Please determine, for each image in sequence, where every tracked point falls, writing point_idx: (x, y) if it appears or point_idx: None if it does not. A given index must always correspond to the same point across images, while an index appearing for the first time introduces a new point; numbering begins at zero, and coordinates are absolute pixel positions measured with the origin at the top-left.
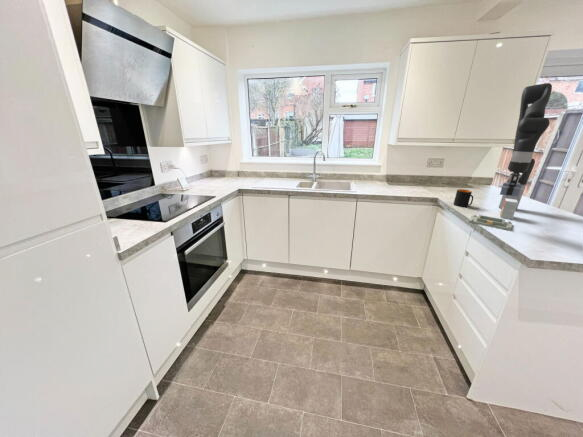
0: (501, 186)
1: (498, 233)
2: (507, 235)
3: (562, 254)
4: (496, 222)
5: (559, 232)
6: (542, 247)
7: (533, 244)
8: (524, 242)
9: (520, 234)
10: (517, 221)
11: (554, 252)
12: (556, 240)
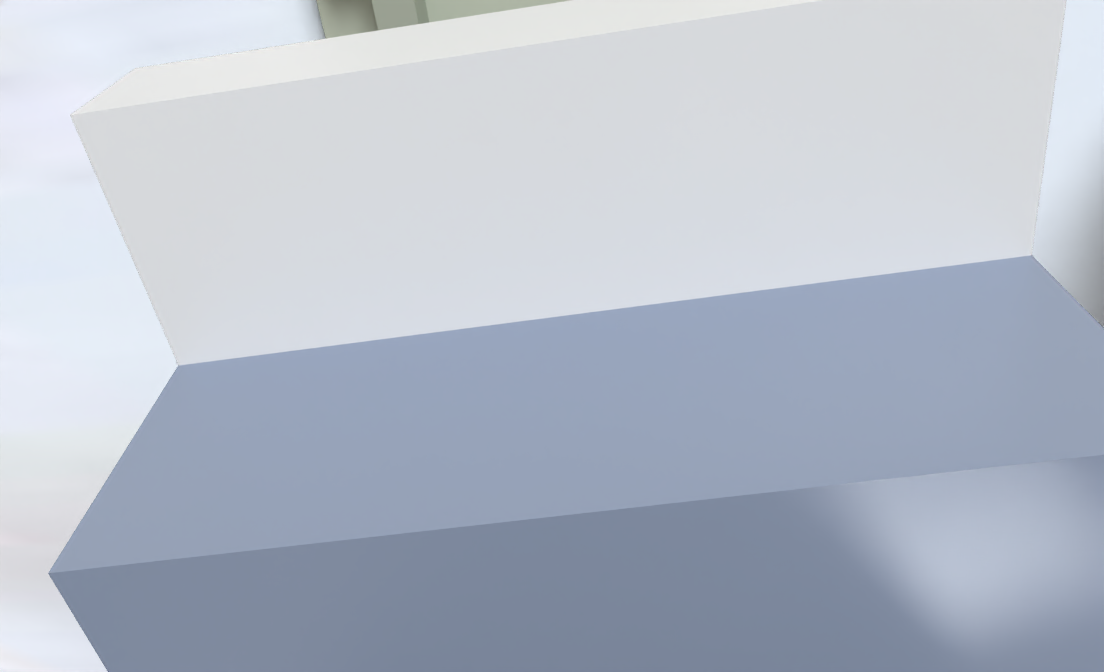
0: (169, 264)
1: (49, 119)
2: (95, 229)
3: (44, 645)
4: (376, 21)
5: None
6: (61, 535)
7: (64, 474)
8: (28, 407)
9: None
10: (1096, 219)
11: (25, 606)
12: None
